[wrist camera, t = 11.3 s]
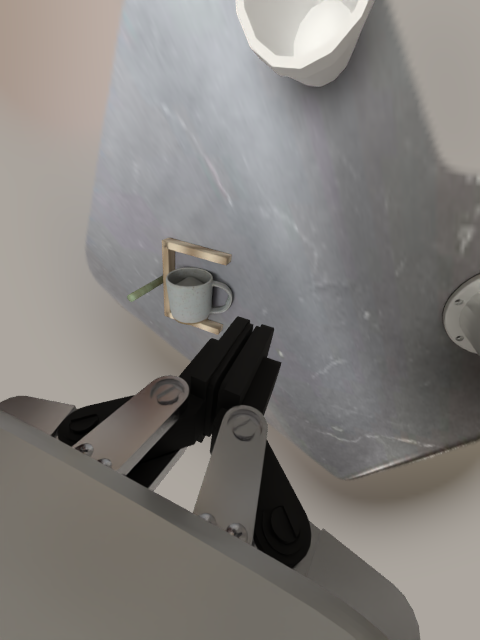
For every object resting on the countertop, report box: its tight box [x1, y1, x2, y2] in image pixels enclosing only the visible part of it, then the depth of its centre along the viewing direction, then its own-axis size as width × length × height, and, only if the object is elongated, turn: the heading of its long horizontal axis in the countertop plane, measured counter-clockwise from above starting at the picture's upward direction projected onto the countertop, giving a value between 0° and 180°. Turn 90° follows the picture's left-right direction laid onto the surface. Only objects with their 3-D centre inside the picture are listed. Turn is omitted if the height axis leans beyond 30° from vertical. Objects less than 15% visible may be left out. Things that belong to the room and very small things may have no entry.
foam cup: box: [236, 0, 375, 87], centre depth 21 cm, size 10×9×13 cm
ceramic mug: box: [166, 267, 232, 325], centre depth 43 cm, size 11×8×8 cm
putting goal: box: [127, 238, 231, 335], centre depth 43 cm, size 13×15×10 cm
